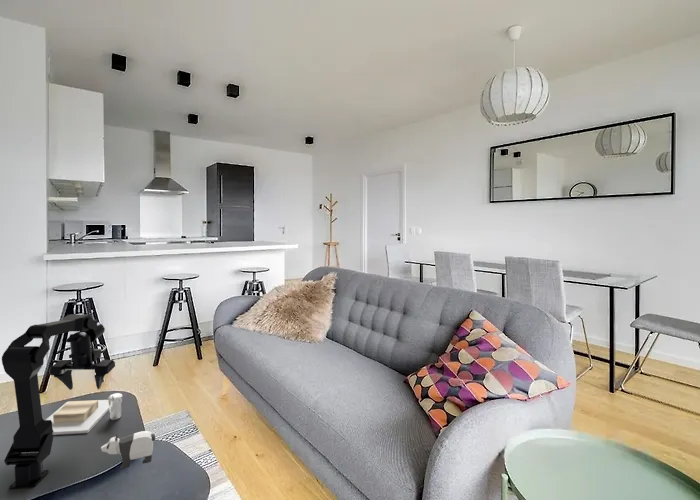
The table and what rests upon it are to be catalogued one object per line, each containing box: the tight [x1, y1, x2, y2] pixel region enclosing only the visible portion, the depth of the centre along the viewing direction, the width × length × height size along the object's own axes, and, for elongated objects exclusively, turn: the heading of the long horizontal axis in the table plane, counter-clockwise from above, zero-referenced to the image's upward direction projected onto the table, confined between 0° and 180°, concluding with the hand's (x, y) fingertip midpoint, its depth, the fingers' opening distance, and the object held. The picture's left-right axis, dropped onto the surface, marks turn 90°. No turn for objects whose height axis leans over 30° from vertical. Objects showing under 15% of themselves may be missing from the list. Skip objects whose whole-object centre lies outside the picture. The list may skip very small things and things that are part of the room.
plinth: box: [53, 399, 99, 423], centre depth 137 cm, size 10×10×3 cm
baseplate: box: [45, 399, 110, 436], centre depth 137 cm, size 22×18×1 cm
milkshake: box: [107, 392, 123, 421], centre depth 137 cm, size 4×5×10 cm
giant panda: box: [99, 430, 156, 470], centre depth 113 cm, size 15×6×10 cm, turn 117°
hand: (85, 388), depth 130 cm, fingers open, 9 cm apart
